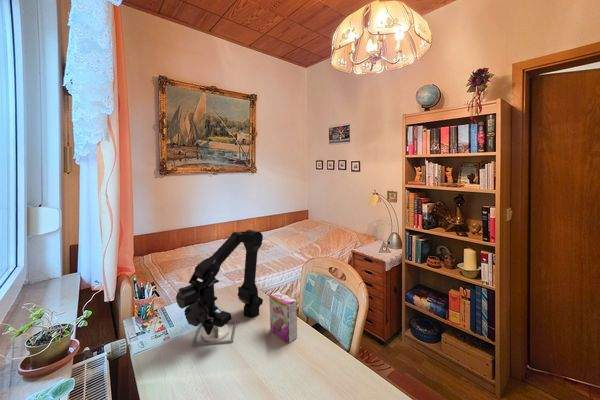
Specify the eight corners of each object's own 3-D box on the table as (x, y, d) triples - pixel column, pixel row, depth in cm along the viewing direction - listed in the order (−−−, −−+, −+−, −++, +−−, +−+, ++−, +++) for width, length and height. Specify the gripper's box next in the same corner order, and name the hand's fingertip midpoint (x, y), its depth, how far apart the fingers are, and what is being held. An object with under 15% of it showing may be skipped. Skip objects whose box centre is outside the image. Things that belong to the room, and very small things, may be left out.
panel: (236, 324, 114) (236, 320, 114) (233, 345, 101) (232, 340, 101) (200, 327, 112) (200, 323, 112) (192, 349, 99) (191, 344, 99)
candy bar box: (269, 331, 109) (268, 294, 107) (278, 326, 113) (277, 290, 110) (288, 344, 102) (288, 304, 99) (297, 338, 105) (297, 299, 103)
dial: (201, 329, 109) (200, 318, 108) (226, 323, 113) (226, 312, 112) (203, 344, 100) (202, 332, 99) (230, 337, 104) (229, 325, 103)
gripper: (171, 301, 97) (174, 340, 99) (209, 313, 89) (212, 355, 91) (194, 288, 107) (197, 323, 109) (231, 298, 99) (233, 336, 101)
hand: (208, 334), depth 102 cm, fingers closed
